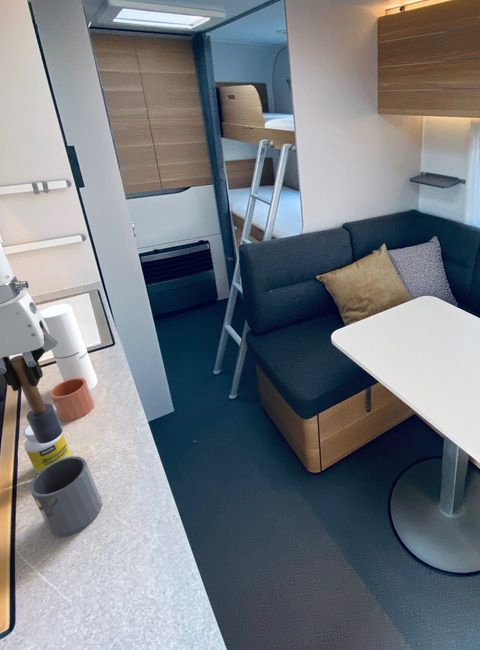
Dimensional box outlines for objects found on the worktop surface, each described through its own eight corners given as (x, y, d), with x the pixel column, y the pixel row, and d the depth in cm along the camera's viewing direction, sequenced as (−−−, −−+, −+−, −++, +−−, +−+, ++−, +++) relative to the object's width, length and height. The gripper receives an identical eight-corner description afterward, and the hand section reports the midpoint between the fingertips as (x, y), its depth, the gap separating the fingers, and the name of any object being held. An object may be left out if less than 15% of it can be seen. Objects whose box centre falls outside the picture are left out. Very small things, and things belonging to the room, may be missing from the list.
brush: (34, 446, 76) (-2, 368, 69) (39, 431, 80) (6, 355, 73) (60, 438, 78) (27, 361, 71) (64, 424, 81) (33, 349, 74)
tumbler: (45, 545, 76) (24, 504, 72) (54, 506, 83) (36, 467, 79) (99, 523, 79) (82, 484, 75) (104, 488, 86) (88, 449, 82)
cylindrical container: (64, 389, 116) (33, 312, 106) (91, 375, 121) (64, 301, 111) (74, 399, 112) (43, 320, 102) (102, 384, 117) (75, 308, 108)
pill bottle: (41, 484, 88) (21, 444, 83) (34, 467, 92) (15, 428, 87) (76, 465, 92) (59, 425, 88) (68, 449, 96) (52, 411, 92)
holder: (57, 426, 103) (47, 401, 100) (63, 407, 109) (53, 383, 106) (93, 416, 106) (83, 391, 103) (96, 398, 112) (87, 374, 109)
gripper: (52, 275, 73) (82, 360, 80) (-66, 295, 67) (-21, 385, 74) (42, 292, 67) (76, 382, 74) (-88, 316, 61) (-38, 412, 68)
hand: (27, 383), depth 74 cm, fingers closed on brush, 2 cm apart
